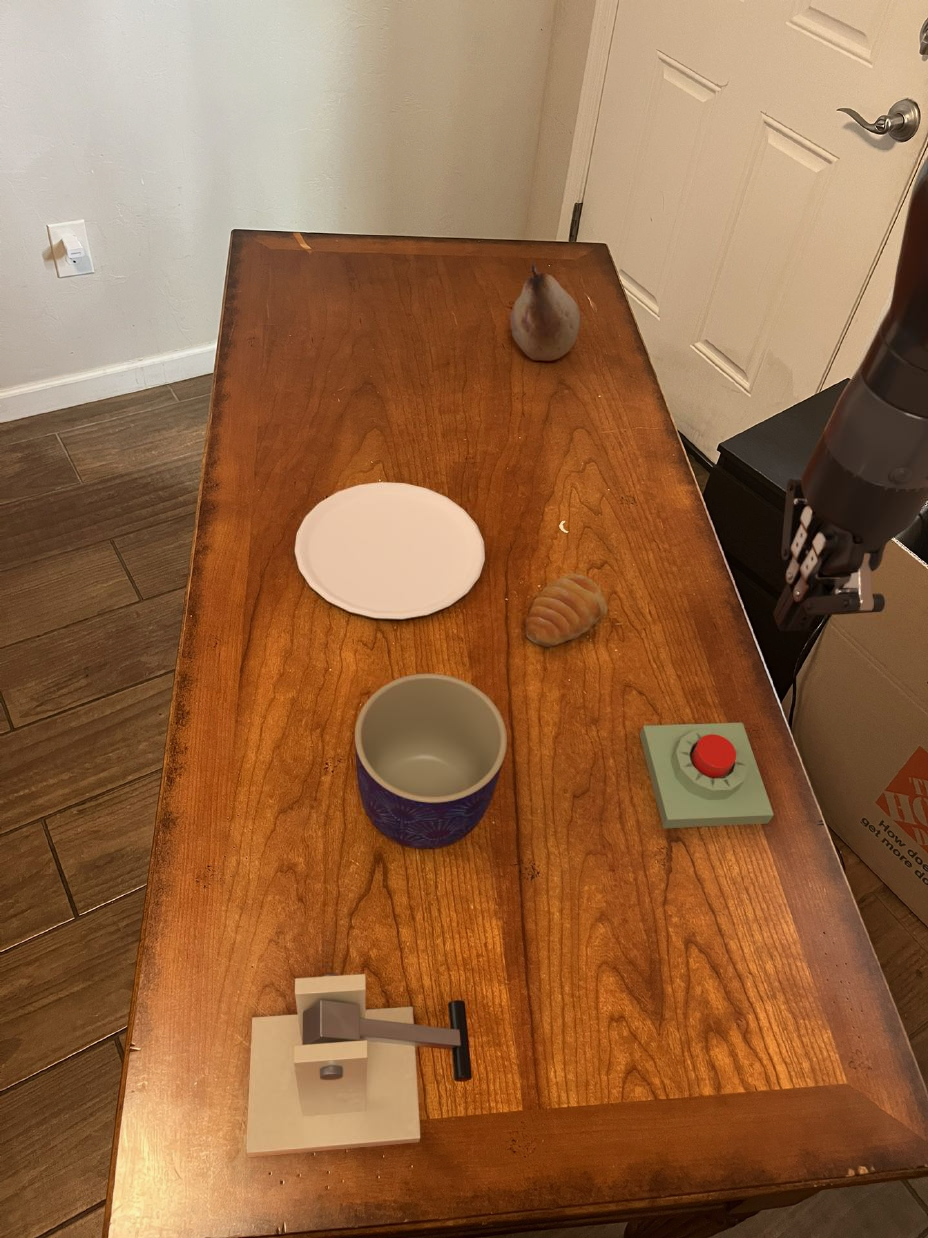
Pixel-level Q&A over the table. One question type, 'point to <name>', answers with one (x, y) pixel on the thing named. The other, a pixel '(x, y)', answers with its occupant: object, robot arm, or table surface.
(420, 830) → the planter
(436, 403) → the table surface
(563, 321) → the fruit
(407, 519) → the plate
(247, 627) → the table surface
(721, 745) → the button
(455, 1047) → the lever
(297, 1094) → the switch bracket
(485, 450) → the table surface
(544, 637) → the pastry
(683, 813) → the button block
